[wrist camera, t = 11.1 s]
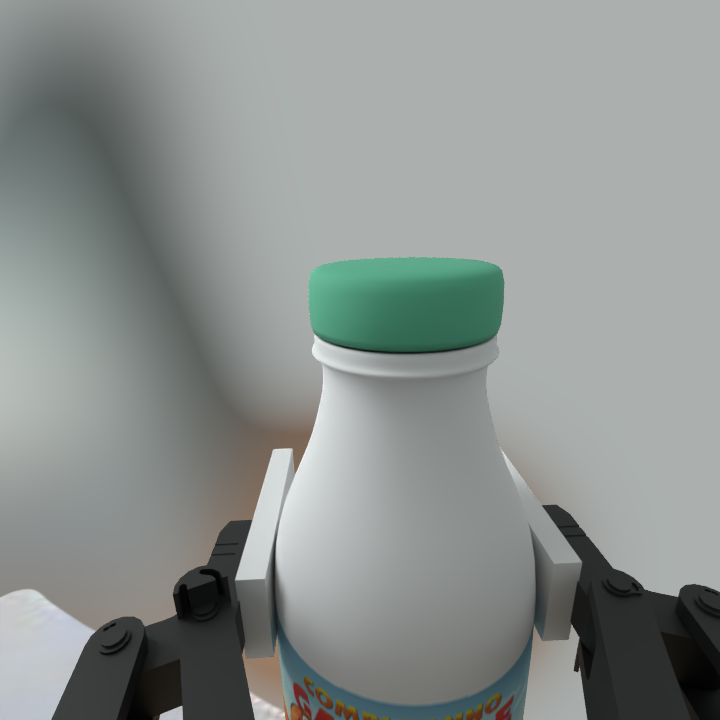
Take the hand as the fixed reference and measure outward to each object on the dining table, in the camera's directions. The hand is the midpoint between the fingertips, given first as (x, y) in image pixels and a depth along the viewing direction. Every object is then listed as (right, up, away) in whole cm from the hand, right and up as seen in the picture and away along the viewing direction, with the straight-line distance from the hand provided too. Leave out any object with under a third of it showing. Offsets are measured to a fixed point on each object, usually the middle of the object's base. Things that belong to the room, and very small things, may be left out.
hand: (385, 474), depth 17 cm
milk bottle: (0, -12, -1) cm, 12 cm away
